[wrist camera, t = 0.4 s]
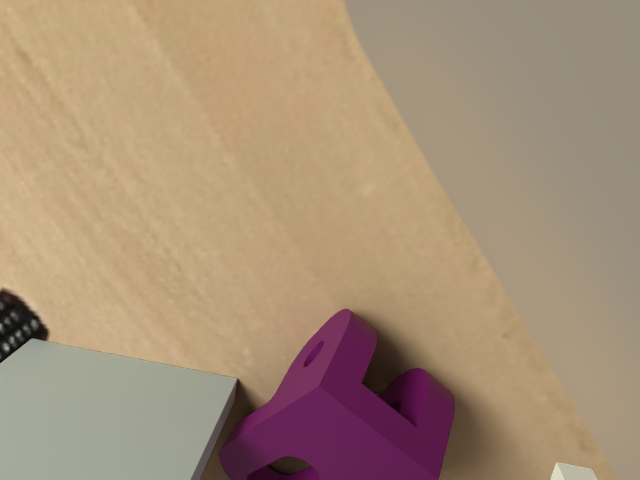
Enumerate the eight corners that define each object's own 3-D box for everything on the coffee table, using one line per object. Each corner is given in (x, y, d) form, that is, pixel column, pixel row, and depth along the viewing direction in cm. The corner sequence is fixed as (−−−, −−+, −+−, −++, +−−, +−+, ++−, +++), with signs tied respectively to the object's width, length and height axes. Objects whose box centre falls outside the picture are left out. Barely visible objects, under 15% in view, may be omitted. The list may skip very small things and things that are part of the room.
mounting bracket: (328, 440, 52) (464, 374, 39) (291, 526, 46) (439, 480, 33) (249, 379, 51) (364, 291, 38) (201, 459, 45) (319, 385, 32)
